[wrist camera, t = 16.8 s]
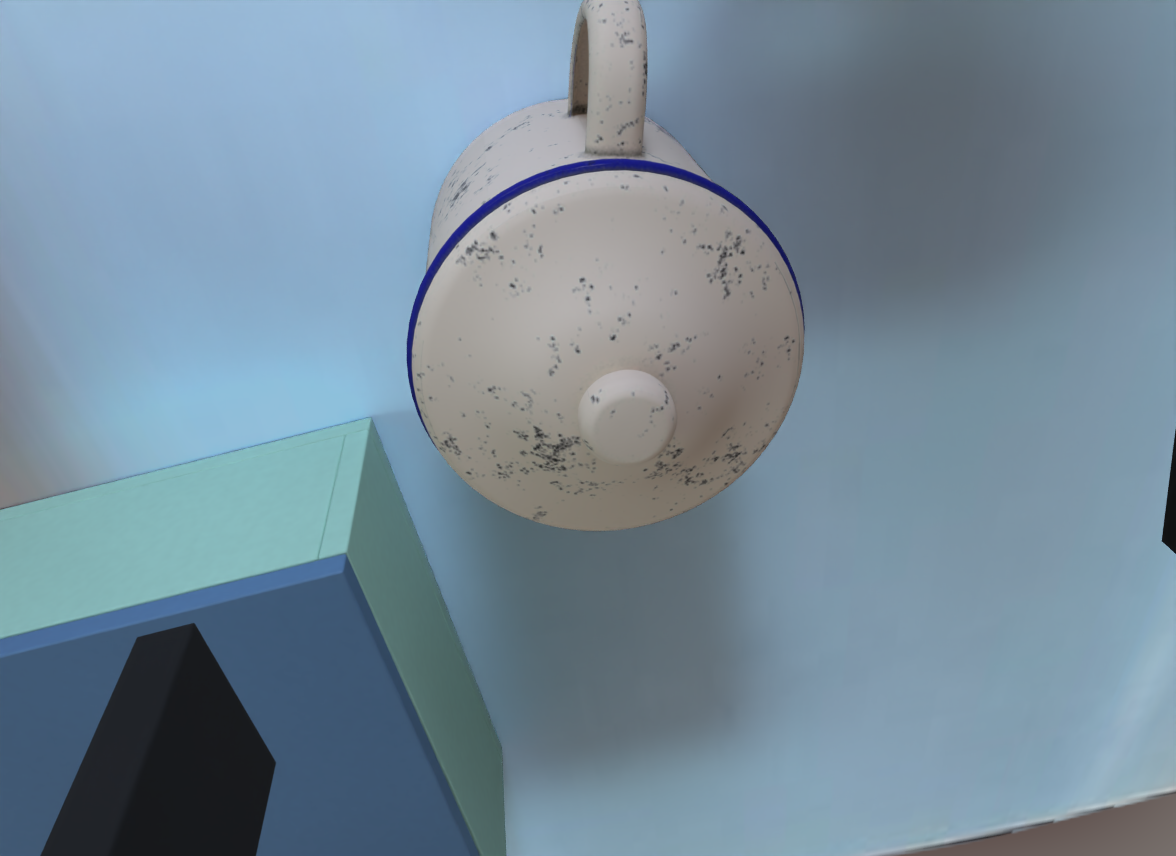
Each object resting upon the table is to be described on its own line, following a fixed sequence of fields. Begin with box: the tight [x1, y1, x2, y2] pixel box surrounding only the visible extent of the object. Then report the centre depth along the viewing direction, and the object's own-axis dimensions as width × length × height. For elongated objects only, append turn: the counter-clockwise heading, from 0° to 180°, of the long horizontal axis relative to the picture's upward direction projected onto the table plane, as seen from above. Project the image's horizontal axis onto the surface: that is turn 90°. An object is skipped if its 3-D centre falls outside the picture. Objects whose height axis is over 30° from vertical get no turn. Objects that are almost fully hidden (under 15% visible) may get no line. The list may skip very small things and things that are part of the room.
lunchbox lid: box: [0, 554, 480, 856], centre depth 28 cm, size 17×17×1 cm
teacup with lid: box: [407, 0, 805, 531], centre depth 23 cm, size 12×9×12 cm
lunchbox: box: [0, 418, 506, 856], centre depth 32 cm, size 17×17×7 cm
